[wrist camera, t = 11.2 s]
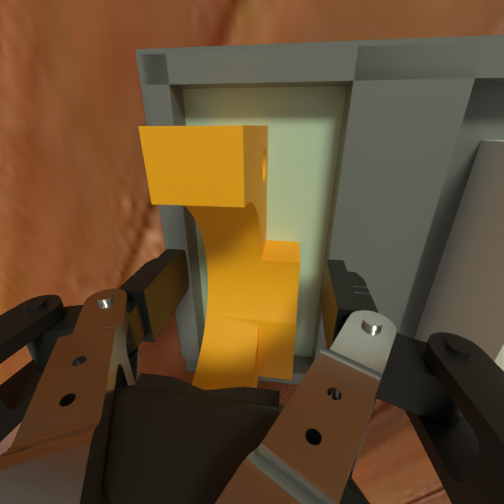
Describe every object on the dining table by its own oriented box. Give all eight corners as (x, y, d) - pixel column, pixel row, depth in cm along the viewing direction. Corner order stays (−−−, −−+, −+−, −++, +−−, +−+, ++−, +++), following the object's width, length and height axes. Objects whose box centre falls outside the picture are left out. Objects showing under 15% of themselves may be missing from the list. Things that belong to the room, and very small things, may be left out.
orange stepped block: (292, 336, 17) (291, 446, 11) (225, 329, 17) (190, 431, 12) (308, 125, 12) (320, 124, 6) (212, 126, 12) (138, 126, 7)
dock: (725, 33, 10) (1279, -85, 4) (513, 383, 17) (613, 500, 12) (146, 55, 12) (34, 1, 7) (186, 346, 20) (147, 427, 15)
